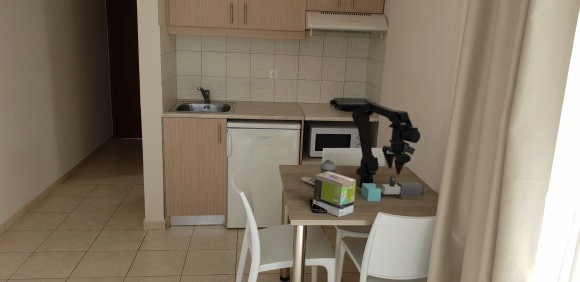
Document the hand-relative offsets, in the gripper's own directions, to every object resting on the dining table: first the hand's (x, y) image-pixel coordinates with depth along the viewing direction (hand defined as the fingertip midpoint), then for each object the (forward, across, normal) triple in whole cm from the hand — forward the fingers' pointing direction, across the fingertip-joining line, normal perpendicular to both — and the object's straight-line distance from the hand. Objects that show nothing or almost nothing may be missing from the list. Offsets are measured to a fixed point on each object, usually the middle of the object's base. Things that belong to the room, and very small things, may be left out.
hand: (393, 171), depth 211 cm
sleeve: (+13, 0, -9) cm, 16 cm away
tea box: (+13, -14, +32) cm, 38 cm away
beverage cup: (+13, +8, +29) cm, 33 cm away
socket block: (+13, 0, +10) cm, 16 cm away
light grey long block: (+11, 0, -4) cm, 11 cm away
